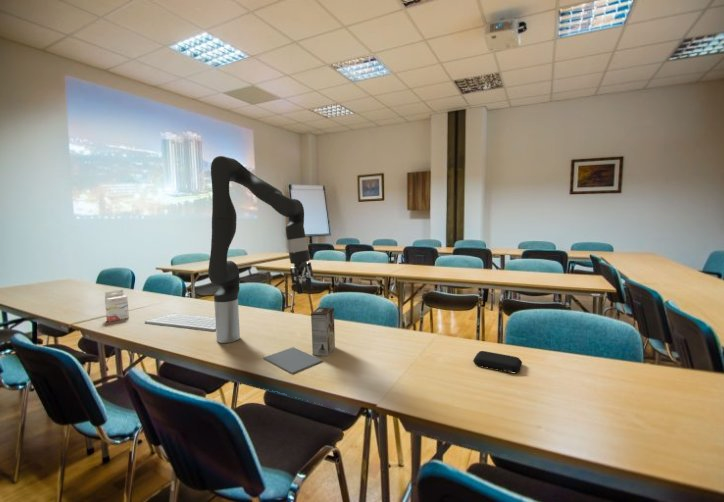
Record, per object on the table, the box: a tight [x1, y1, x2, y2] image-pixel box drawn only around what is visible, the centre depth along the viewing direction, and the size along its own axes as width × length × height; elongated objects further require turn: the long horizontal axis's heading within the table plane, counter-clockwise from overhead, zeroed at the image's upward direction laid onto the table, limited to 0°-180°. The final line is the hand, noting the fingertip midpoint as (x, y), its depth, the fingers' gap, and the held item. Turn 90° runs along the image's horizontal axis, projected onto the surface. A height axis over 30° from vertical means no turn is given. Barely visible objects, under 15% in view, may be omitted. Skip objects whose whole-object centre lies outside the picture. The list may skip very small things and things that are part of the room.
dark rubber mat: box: [262, 346, 323, 375], centre depth 122 cm, size 18×13×1 cm
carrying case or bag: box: [473, 350, 523, 373], centre depth 115 cm, size 11×3×15 cm
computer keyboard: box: [144, 313, 216, 332], centre depth 169 cm, size 43×19×2 cm, turn 70°
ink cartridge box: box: [104, 289, 130, 323], centre depth 174 cm, size 9×5×15 cm, turn 144°
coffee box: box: [310, 306, 336, 357], centre depth 129 cm, size 9×6×16 cm
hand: (305, 291), depth 132 cm, fingers open, 8 cm apart
